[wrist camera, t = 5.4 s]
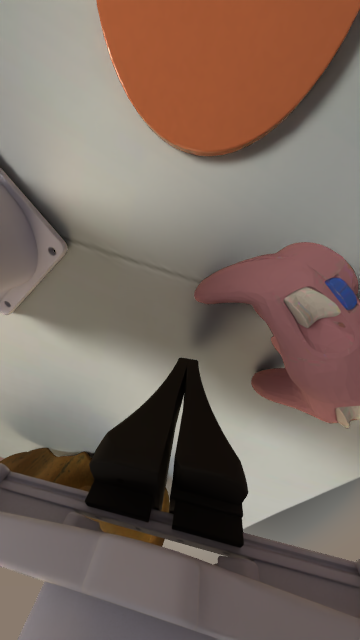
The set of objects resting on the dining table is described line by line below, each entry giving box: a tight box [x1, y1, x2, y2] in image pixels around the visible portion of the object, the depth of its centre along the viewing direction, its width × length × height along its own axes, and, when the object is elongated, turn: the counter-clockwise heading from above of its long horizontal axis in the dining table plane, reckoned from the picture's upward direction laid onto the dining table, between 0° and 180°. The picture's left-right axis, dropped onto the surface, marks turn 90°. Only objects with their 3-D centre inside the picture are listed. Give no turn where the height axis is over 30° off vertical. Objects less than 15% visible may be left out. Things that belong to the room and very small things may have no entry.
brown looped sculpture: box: [0, 448, 170, 547], centre depth 22 cm, size 18×13×22 cm
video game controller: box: [194, 242, 360, 429], centre depth 9 cm, size 10×5×7 cm, turn 34°
